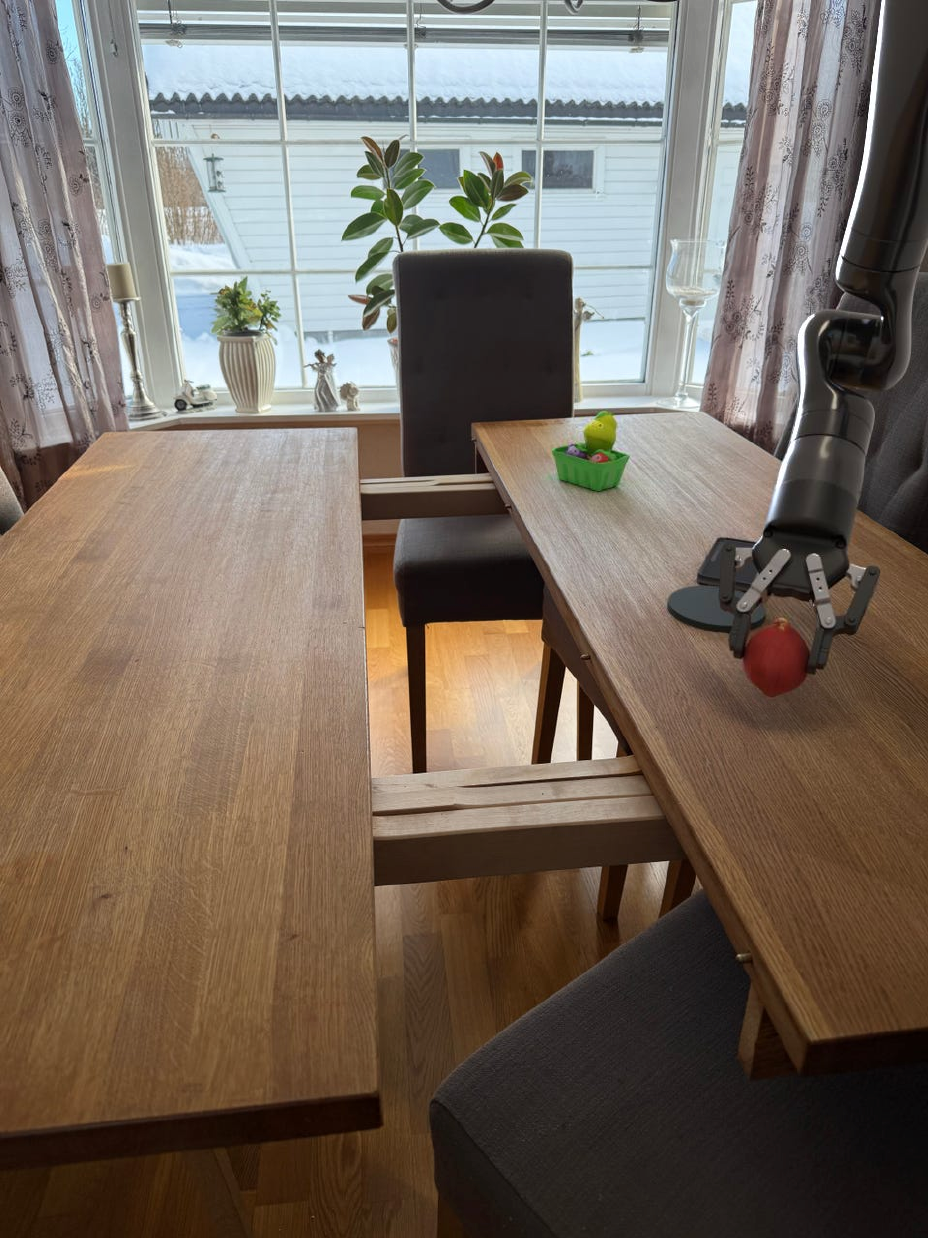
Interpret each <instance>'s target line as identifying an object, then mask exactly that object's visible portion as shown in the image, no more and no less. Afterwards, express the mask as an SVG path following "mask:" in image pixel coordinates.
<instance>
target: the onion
mask: <svg viewBox="0 0 928 1238" xmlns="http://www.w3.org/2000/svg"><path fill="white" fill-rule="evenodd" d="M773 623H774V624H770V625H767V626H764V627H762V628H760V629H759V630H757V631H756V632H755V633H753V635H752V636H751V637H750V638H749V640H747V643H746V647H745V649H744V654H743V658H742V659H741V661H742V662H741V663H742V668H743V671H744V673H745V677H746V678H747V679H748V681H750V683H752V684H753V686H755V687H756V688H757V689H758V690H759V691H760V692H761V693H762V694H763V695H764V696H765V697H767V698H776V697H779V696H781V695H784V694H787V693H790V692H792V691H793V690H795V689H797V688H799V687H800V686H801V685H802V684H803V683H804V681H805V680H806V679H807V677H808V675H809V674H807V666H808V661H809V657H810V653H811V650H810V649H809V646H808V644H807V642H806V640H805V639H804V638H803V636H802V635H801V634H800V632H799V631H797V630H796V629H795V628H794V627H793V626H791V624H790V622H789V621H788V619H786V618H784V617H779V618H777V619H776V620H774V621H773Z"/></svg>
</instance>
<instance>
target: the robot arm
mask: <svg viewBox="0 0 928 1238" xmlns="http://www.w3.org/2000/svg"><path fill="white" fill-rule="evenodd" d="M872 72H873V73H872V81H871V91H870V100H869V109H868V119H867V125H866V126H867V128H866V135H865V143H864V149H863V150H864V152H863V157H862V163H861V169H860V172H859V178H858V182H857V186H856V190H855V195H854V199H853V202H852V207H851V210H850V214H849V217H848V221H847V225H846V229H845V233H844V236H843V240H842V243H841V247H840V251H839V256H838V257H837V262H836V265H835V266H836V267H835V273H834V280H835V283H836V285H837V287H838V288H839V289H840V290H841V291H843V292H844V293H846V294H849V295H850V296H853V297H854V298H857V299H859V300H862V301H864V302H867V303H869V304H871V305H873V306H874V307H876V308H877V310H878V311H879V312H880V315H878V314H871V313H863V312H856V311H847V310H842V309H836V308H824V309H819V310H817V311H815V312H814V313H813V314H810V316H809V317H808V318H807V319H806V320H804V322H803V323H802V325H801V326H800V328H799V330H798V333H797V336H796V340H795V346H794V347H795V348H794V366H795V376H796V385H797V405H796V413H795V417H794V421H793V426H792V430H791V433H790V437H789V441H788V444H787V450H786V451H785V454H784V456H783V459H782V461H781V463H780V466H779V469H778V473H777V477H776V479H775V484H774V488H773V491H772V495H771V500H770V503H769V505H768V511H767V515H766V518H765V521H764V526H763V530H762V533H761V536H760V538H759V540H758V541H756V542H757V543H756V544H755V545H754V546H753V548H736V547H735V545H734V544H733V543H726V544H724V545H723V547H722V557H721V570H720V582H719V595H718V597H719V602H720V607H721V609H722V610H723V611H728V612H730V613H732V614H733V615H734V620H733V624H732V628H731V631H730V632H729V636H728V639H727V641H728V647H729V651H731V652H732V654H733V658H734V659H736V660H737V659H738V660H742V658H743V654H744V649H745V647H746V645H747V643H748V639H749V636H750V631H751V630H750V628H751V624H752V623H751V618H752V616H753V615H754V614H755V613H756V612H757V610H758V609H759V608H760V607H761V606H762V605H764V606H765V605H766V603H767V602H768V601H769V600H770V599H771V597H772V596H773V597H778V598H793V599H796V600H798V601H801V602H804V603H805V602H806V603H809V602H810V601H811V604H812V608H813V612H814V615H815V617H816V622H817V625H818V627H816V628H815V631H814V636H813V640H812V645H811V648H810V657H809V661H808V666H807V674H808V675H812V676H816V673H817V670H821V671H823V670H824V669H825V668H826V666H827V663H828V658H829V655H830V651H831V646H832V642H833V639H834V638H835V637H836V636H839V635H847V636H854V635H856V634H857V632H858V630H859V628H860V627H861V623H862V622H863V619H864V616H865V614H866V612H867V609H868V607H869V605H870V603H871V601H872V598H873V596H874V594H875V591H876V590H877V587H878V585H879V580H880V576H881V569H880V568H879V567H878V566H876V565H869V566H867V567H863V566H860V565H858V564H855V563H851V561H850V558H849V555H848V550H849V545H850V542H851V541H850V540H851V537H852V532H853V528H854V523H855V519H856V515H857V510H858V507H859V505H860V502H861V498H862V495H861V493H862V489H863V484H864V479H865V478H864V477H865V466H866V465H865V464H866V458H867V455H868V450H869V446H870V441H871V437H872V433H873V430H874V425H875V418H876V416H875V414H876V413H875V409H874V406H873V404H872V403H871V401H870V400H869V399H867V398H866V397H865V396H864V395H862V394H860V393H859V392H856V391H854V390H857V391H858V390H859V391H865V392H871V393H880V392H881V393H882V392H885V391H887V390H889V389H891V388H892V387H894V386H895V385H896V384H897V383H899V381H901V379H902V378H903V376H904V375H905V373H906V372H907V369H908V367H909V364H910V361H911V353H912V312H913V301H914V294H915V289H916V283H917V279H918V276H919V271H920V269H921V265H922V262H923V260H924V257H925V254H926V251H927V248H928V0H881V6H880V15H879V22H878V32H877V41H876V50H875V58H874V65H873V71H872ZM851 389H854V390H851ZM748 561H753V563H754V565H755V567H756V569H757V571H758V573H759V576H758V577H757V578H756V579H755V580H754V581H753V583H752V584H751V586H750V588H749V590H748V591H747V592H744V593H745V595H744V596H743V597H742V598H741V599H740V598H738V597H737V596H735V595H734V593H735V579H736V572H739V571H742V570H743V569H744V567H745V564H746V563H747V562H748ZM846 577H847V578H848V579H849V580H850V589H851V591H853V592H854V595H853V597H852V599H851V601H850V604H849V606H848V609H847V611H846V613H845V614H844V615H835V613H834V612H835V611H834V608H833V605H832V599H831V594H830V591H829V590H831V589H832V588H833V587H834V586H836V585H837V584H839V582H841V581H842V580H844V578H846Z"/></svg>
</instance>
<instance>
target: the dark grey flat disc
mask: <svg viewBox="0 0 928 1238" xmlns="http://www.w3.org/2000/svg"><path fill="white" fill-rule="evenodd" d="M745 593H746V592H744V591H739V590H735V593H734V595H735V596H737V597H738V598H740V599H741V598H742V597H743V596H744V595H745ZM718 595H719V586H711V585H691V586H685V587H682V588H679V589H676V590H675V591H672V593H671V594H670V595H669V596H668V598H667V605H666V607H667V610H668V612H669V614H670V615H671V616H673V618H675V619H676V620H677V621H680V622H682V623H684V624H685V625H688V626H690V627H694V628H697V629H700V630H706V631H711V632H718V633H719V632H720V633H730V631H731V628H732V624H733V620H734V615H733V614H732V613H730V612H728V611H723V610H722V609H721V607H720V602H719V597H718ZM766 615H767V608H766V606H765V604H764V605H762V606H761V607H760V608H759V609H758V610H757V612H756V613H755V614H754V615H753V616H752V618H751V623H752V624H751V628H750V631H751V630H754V629H756V628H758V627H760V626H761V625H762V624H764V622H765V620H766Z"/></svg>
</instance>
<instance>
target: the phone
mask: <svg viewBox="0 0 928 1238" xmlns="http://www.w3.org/2000/svg"><path fill="white" fill-rule="evenodd" d="M757 542H758V541H753V540H746V539H740V538H735V537H728V536H720V537H717V538H716V540H715V542H714V543H713V545H712V547H711V548H710V550H709V551H708V553H707V554H706V556H705V558H704V559H703V561H702V563H701V565H700V566H699V568H698V570H697V572H696V579H695V581H696V582H697V583H699V584H700V585H704V586H719V582H720V570H721V557H722V547H723V545H724V544H726V543H733V544H734V545H735V547H736V548H753V546H754V545H755V544H756V543H757ZM758 576H759V573H758V571H757V569H756V567H755V565H754V563H753V561H748V562H747V563H746V564H745V567H744V569H743V570H742V571H739V572H736V579H735V590H738V591H741V592H744V593H746V592H747V591H748V590H749V588H750V586H751V584H752V583H753V581H754V580H755V579H756V578H757V577H758Z"/></svg>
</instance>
